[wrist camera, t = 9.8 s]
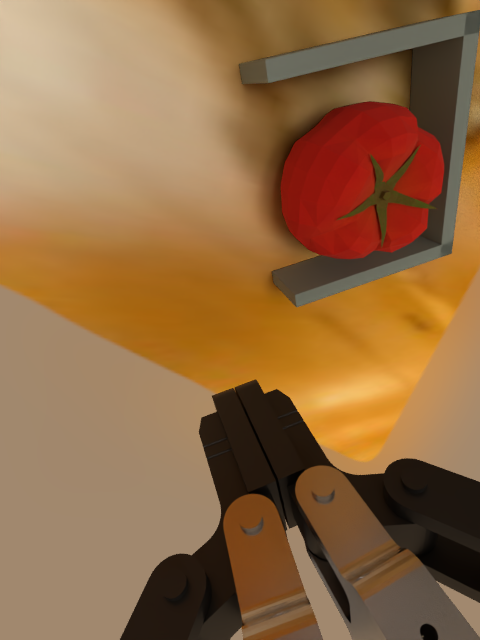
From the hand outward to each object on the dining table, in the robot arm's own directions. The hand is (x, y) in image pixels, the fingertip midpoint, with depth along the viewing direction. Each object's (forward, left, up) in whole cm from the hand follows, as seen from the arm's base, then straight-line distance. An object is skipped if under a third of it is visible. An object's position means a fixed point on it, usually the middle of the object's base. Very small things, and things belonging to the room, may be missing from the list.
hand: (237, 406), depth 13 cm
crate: (-17, 0, -22) cm, 27 cm away
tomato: (-15, +1, -22) cm, 27 cm away
